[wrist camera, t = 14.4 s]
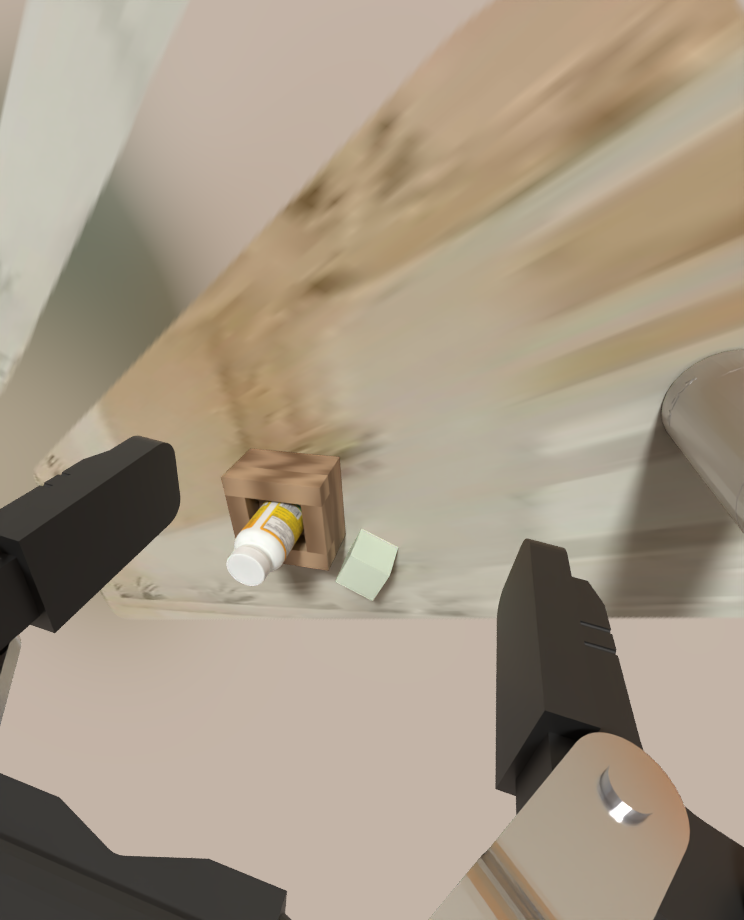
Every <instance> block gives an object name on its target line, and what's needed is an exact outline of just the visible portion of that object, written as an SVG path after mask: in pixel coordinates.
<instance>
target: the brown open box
mask: <svg viewBox="0 0 744 920" xmlns="http://www.w3.org/2000/svg"><path fill="white" fill-rule="evenodd" d="M221 480H222V484H223V488H224V492H225V496H226V500H227V505H228V509H229V513H230V517H231V521H232V526H233V530H234V534H235V538H236V537H237V535H238V534H239V533H240V532H241V530H242V529H243V528H244V527H245V525H246V524H247V523H248V522H249V521H250V519H251V518H252V517H253V516H254V514H255V513H256V512H257V511H258V510H259V508H260V507H261V506H262V505H263V503H264V502H265V501H266V500H268V501H276V502H284V503H292V504H300V505H301V511H302V518H303V526H304V530H303V531H302V533H301V535H300V536H299V538H298V540H297V541H296V543H295V544H294V546H293V548H292V549H291V551H290V552H289V554H288V556H287V557H286V559H285V561H284V562H283V564H289V565H295V566H302V567H308V568H314V569H321V570H327V571H329V569H330V567H331V564H332V562H333V560H334V558H335V556H336V554H337V552H338V549H339V547H340V545H341V543H342V541H343V539H344V537H345V534H346V533H345V521H344V508H343V495H342V482H341V470H340V457H334V456H324V455H313V454H303V453H292V452H282V451H271V450H261V449H249V450H248V451H247V452H246V453H245V454H244V455H243V456H242V457H241V458H240V459H239V460H238V461H237V462H236V463H235V464H234V465H233V466H232V467H231V468H230V469H229V470H228V471H227V472H226V473H225V474H224V475H223V476H222V477H221Z"/></svg>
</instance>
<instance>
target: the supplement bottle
mask: <svg viewBox="0 0 744 920" xmlns="http://www.w3.org/2000/svg"><path fill="white" fill-rule="evenodd" d="M303 530H304V526H303V518H302V511H301V505H300V504H292V503H284V502H276V501H268V500H266V501H265V502H264V503H263V505H262V506H261V507H260V508H259V510H258V511H257V512H256V513H255V514H254V516H253V517H252V518H251V519H250V521H249V522H248V523H247V524H246V525H245V527H244V528H243V529H242V530H241V532H240V533H239V534H238V535H237V537H236V539H235V543H234V548H235V550H234V551H233V552H232V554H231V555H230V556H229V558H228V559H227V569H228V571H229V573H230V574H231V576H232V577H233V578H234V579H236V580H237V581H238V582H240V583H242V584H245V585H248V586H256V585H259V584H261V583H262V582H263V581H264V580H265V578H266V577H267V575H268V574H269V572H273V571H275V570H277V569H278V568H279V567H280V566H281V565H282V564H283V562H284V561H285V559H286V557H287V556H288V554H289V552H290V551H291V549H292V548H293V546H294V544H295V543H296V541H297V540H298V538H299V536H300V535H301V533H302V531H303Z"/></svg>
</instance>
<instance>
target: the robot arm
mask: <svg viewBox="0 0 744 920" xmlns="http://www.w3.org/2000/svg"><path fill="white" fill-rule="evenodd" d="M662 420H663V424H664V427H665V429H666V431H667V433H668V434H669V435H670V437H671V438H672V439H673V441H674V442H675V443H676V445H677V446H678V447H679V449H680V450H681V451H682V453H683V454H684V456H685V457H686V458H687V460H688V461H689V462H690V464H691V465H692V466H693V467H694V469H695V470H696V471H697V473H698V474H699V475H700V477H701V478H702V479H703V481H704V482H705V483H706V485H707V486H708V487H709V489H710V490H711V491H712V492H713V494H714V495H715V496H716V498H717V499H718V500H719V502H720V503H721V504H722V506H723V507H724V508H725V510H726V511H727V512H728V513H729V515H730V516H731V517H732V519H733V520H734V521H735V523H736V524H737V525H738V527H739V528H740V529H741V531H742V532H743V533H744V350H732V351H726V352H721V353H718V354H715V355H712V356H709V357H707V358H705V359H703V360H701V361H699V362H697V363H695V364H694V365H693V366H691V367H690V368H688V369H687V370H686V371H684V372H683V373H682V374H681V375H680V376H679V377H678V378H677V379H676V380H675V381H674V383H673V384H672V386H671V387H670V389H669V390H668V392H667V394H666V396H665V399H664V401H663V406H662ZM179 506H180V491H179V483H178V475H177V467H176V459H175V452H174V449H173V447H172V446H171V445H170V444H168V443H165V442H161V441H157V440H153V439H149V438H146V437H142V436H133V437H131V438H129V439H127V440H126V441H124V442H123V443H121V444H119V445H118V446H116V447H114V448H113V449H111V450H110V451H107V452H104V453H101V454H98V455H95V456H92V457H89V458H86V459H83V460H81V461H80V462H78V463H76V464H75V465H73V466H71V467H70V468H68V469H66V470H65V471H63V472H62V475H56V476H55V477H53V478H51V479H50V480H48V481H46V482H45V483H44V486H38V487H36V488H35V489H33V490H32V491H30V492H28V493H26V494H25V495H23V496H21V497H20V498H18V499H16V500H15V501H13V502H12V503H10V504H8V505H6V506H5V507H3V508H1V509H0V724H1V720H2V717H3V713H4V709H5V705H6V702H7V698H8V694H9V690H10V686H11V683H12V679H13V675H14V671H15V667H16V664H17V660H18V656H19V652H20V648H21V639H20V636H19V634H20V633H21V632H22V631H23V630H24V629H26V628H27V627H28V626H29V625H33V626H36V627H39V628H42V629H44V630H48V631H50V632H53V633H56V632H57V631H58V630H59V629H60V628H61V627H62V626H63V625H64V624H65V623H66V622H67V621H68V620H69V619H70V618H71V617H72V616H73V615H74V614H76V612H78V611H79V609H81V608H82V607H83V606H84V605H85V604H86V603H87V602H88V601H89V600H90V599H91V598H92V597H93V596H94V595H95V594H96V593H98V592H99V591H100V590H101V589H102V588H103V587H104V586H105V585H106V584H107V583H108V582H109V581H110V580H111V579H112V578H113V577H114V576H115V575H117V574H118V573H119V572H120V571H121V570H122V569H123V568H124V567H125V566H126V565H127V564H128V563H129V562H130V561H131V560H132V559H133V558H134V557H135V556H136V555H138V554H139V553H140V552H141V551H142V550H143V549H144V548H145V547H146V546H147V545H148V544H149V543H150V542H151V541H152V540H153V539H154V538H155V537H156V536H158V535H159V534H160V533H161V532H162V531H163V530H164V529H165V528H166V527H167V526H168V525H169V524H170V523H171V522H172V521H173V519H174V518H175V516H176V514H177V512H178V509H179ZM610 630H611V628H610V624H609V620H608V617H607V613H606V609H605V605H604V604H603V602H602V601H601V599H600V598H599V596H598V595H597V594H596V592H595V591H594V589H593V588H592V586H591V585H590V584H589V582H588V581H586V580H582V579H578V578H574V577H572V576H571V571H570V566H569V561H568V555H567V552H566V550H565V549H564V548H562V547H558V546H554V545H550V544H546V543H543V542H539V541H535V540H531V539H525V540H524V541H523V543H522V545H521V547H520V550H519V552H518V555H517V557H516V559H515V562H514V564H513V566H512V569H511V571H510V574H509V576H508V578H507V581H506V583H505V586H504V588H503V591H502V594H501V597H500V601H499V606H498V613H497V674H496V677H497V678H496V789H498V790H500V791H503V792H506V793H509V794H512V795H514V796H516V816H515V818H514V819H513V820H512V821H511V823H510V824H509V825H508V826H507V827H506V829H505V830H504V831H503V832H502V834H501V835H500V836H499V837H498V839H497V840H496V841H495V842H494V843H493V844H492V846H491V847H490V848H489V849H488V850H487V851H486V852H485V853H484V854H483V855H482V856H481V857H480V858H479V859H478V861H477V862H476V863H475V864H474V866H472V868H471V869H470V870H469V871H468V872H467V874H466V875H465V876H464V877H463V878H462V880H461V881H460V882H459V883H458V884H457V886H456V887H455V888H454V889H453V891H452V892H451V893H450V894H449V895H448V897H447V898H446V899H445V900H444V901H443V903H442V904H441V905H440V906H439V907H438V909H437V910H436V911H435V912H434V914H433V915H432V916H431V917H430V918H429V920H744V847H742V846H741V845H739V844H738V843H736V842H735V841H733V840H732V839H730V838H728V837H727V836H726V835H724V834H722V833H721V832H719V831H718V830H716V829H715V828H713V827H712V826H710V825H709V824H707V823H706V822H704V821H703V820H701V819H700V818H699V817H697V816H696V815H694V814H693V813H692V812H691V811H690V810H689V809H687V808H686V807H685V806H684V804H683V801H682V799H681V796H680V795H679V793H678V791H677V790H676V787H675V786H674V784H673V783H672V781H671V780H670V778H669V777H668V775H667V774H666V773H665V772H664V771H663V769H662V768H661V767H660V766H659V765H658V764H657V763H656V762H655V761H654V760H653V759H652V758H651V757H650V756H649V755H648V754H646V753H645V752H644V751H643V748H642V745H641V742H640V738H639V734H638V731H637V727H636V723H635V719H634V715H633V712H632V708H631V704H630V700H629V696H628V693H627V689H626V685H625V681H624V678H623V674H622V670H621V666H620V663H619V658H618V656H617V655H615V653H616V647H615V643H614V640H613V636H612V634H610ZM286 895H287V891H286V890H283V889H281V888H278V887H276V886H273V885H271V884H268V883H266V882H264V881H261V880H259V879H256V878H254V877H252V876H249V875H247V874H244V873H242V872H239V871H237V870H234V869H232V868H229V867H227V866H225V865H222V864H220V863H218V862H215V861H212V860H210V859H196V858H169V857H140V856H122V855H118V854H115V853H113V852H112V851H111V850H109V849H108V848H107V847H106V846H105V845H104V843H102V841H101V840H100V839H99V838H98V837H97V836H96V835H95V834H94V833H93V832H92V831H91V830H90V829H89V828H88V827H87V826H86V825H85V824H84V823H83V822H82V820H81V819H80V818H79V817H78V816H77V815H76V814H75V813H74V812H73V811H72V810H71V809H70V808H69V807H68V806H67V805H66V804H65V803H64V802H63V801H62V800H61V799H60V798H59V797H57V796H54V795H52V794H49V793H47V792H45V791H42V790H40V789H37V788H35V787H33V786H30V785H28V784H25V783H23V782H20V781H18V780H15V779H13V778H10V777H8V776H6V775H3V774H1V773H0V920H291V919H290V918H289V917H288V916H287V915H286V914H285V907H286Z"/></svg>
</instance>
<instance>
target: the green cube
mask: <svg viewBox="0 0 744 920" xmlns="http://www.w3.org/2000/svg"><path fill="white" fill-rule="evenodd" d="M397 550H398V547H397V546H395V545H393V544H391V543H389V542H387V541H385V540H383V539H381V538H379V537H377V536H375V535H373V534H371V533H369V532H367V531H365V530H363V529H361V531H360V533H359V534H358V536H357V538H356V540H355V541H354V543H353V545H352V547H351V548H350V550H349V552H348V554H347V556H346V558H345V560H344V563H343V565H342V567H341V569H340V572H339V574H338V576H337V579H336V581H335V582H336V583H338V584H340V585H342V586H344V587H346V588H348V589H350V590H352V591H354V592H356V593H358V594H360V595H362V596H363V597H365V598H367V599H369V600H371V601H373V600H374V598H375V597H376V595H377V594H378V592H379V591H380V589H381V588H382V586H383V585H384V583H385V582H386V581H387V579H388V578H389V576H390V573H391V570H392V566H393V563H394V560H395V556H396V553H397Z"/></svg>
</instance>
